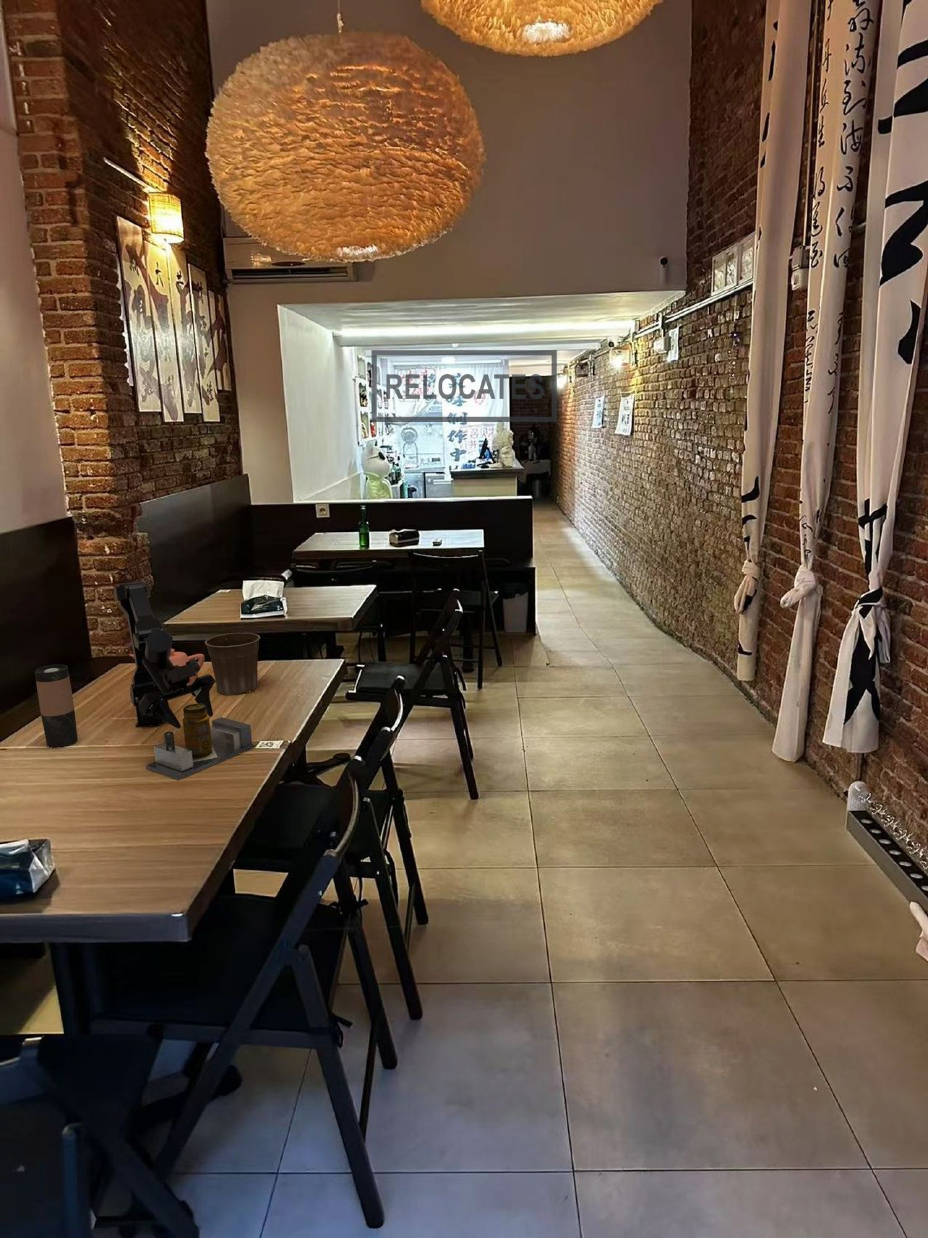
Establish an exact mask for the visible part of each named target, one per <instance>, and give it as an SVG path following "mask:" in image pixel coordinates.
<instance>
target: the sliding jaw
mask: <svg viewBox="0 0 928 1238" xmlns="http://www.w3.org/2000/svg"><path fill="white" fill-rule="evenodd" d="M163 737H164V742H163V743H159V744H157V745H154V746H153V750H154V751H153V752H154V758H155V759H154V761H156V763H159V764H162V765H165V766H168V767H171V768H174V769H177V770H180V771H184V770H187V769H189V768H192V767H193V759H192V751H191V750H188V749H186V747H185V748H184V747H182V746H179V745H176V743H175V737H174V731H170V730H169V731H166V732H164V733H163Z"/></svg>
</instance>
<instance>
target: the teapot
mask: <svg viewBox="0 0 928 1238" xmlns="http://www.w3.org/2000/svg"><path fill="white" fill-rule="evenodd" d="M128 655H129V656H130V657H131V658H133V659H134V653H133V654H132V653H130V654H128ZM169 659H170V660H171V662H172V663H173V665H174V666H176V665H178V666H179V667H180V666H183V665H186V662H188V661H189V660H193V659H197V660H198V661H197V663H198V664H199V666H200V670H201V669H202V667H203V666H204V663H205V659H206V658H205V655H204V654H203V653H196V654H192V655H189V656H188V655H187V653H185V652H183V651H175V648H171V653H170V658H169ZM199 672H200V671H198V672H196V676H192V677H190V678H189V679H190V682H189V683H187V684H186V685H187V686H189V685H192V684H193V682H194V681H195V679H196V678H197V677H199Z"/></svg>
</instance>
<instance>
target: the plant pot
mask: <svg viewBox="0 0 928 1238" xmlns="http://www.w3.org/2000/svg"><path fill="white" fill-rule="evenodd" d="M260 640H261V636H260V635H259V634H257V633H251V632H231V633H222V634H218V635H214V636H211V637H209V638H207V639H206V640H205V641H204V643H205V646H206V647H207V652H208V656H209V657H210V661H211V667H212V670H213V671H212V672H213V678H214V679H215V681H216V682H215V685H216V691H217V692H218V691H219V692H218V693H219V694H221V695H225V694H238V695H242V694H243V693H246V692H248V693H250V692H249V691H251V692H253V691H255V690H256V689H257V688H258V687H257V686H258V685H259V684H258V683H259V682H258V677H259V676H258V658H259V657H258V655H259V653H258V652H259V650H260V647H259V644H260V642H259V641H260ZM254 689H255V690H254ZM252 690H253V691H252ZM241 693H242V694H241Z"/></svg>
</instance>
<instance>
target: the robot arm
mask: <svg viewBox="0 0 928 1238" xmlns="http://www.w3.org/2000/svg"><path fill="white" fill-rule="evenodd" d="M113 595H114V600H115V602H117V604H118V608H119V610H120V611H121V612H122V613H123V614H124V615H125V616H126V618H127V619H126V620H127V623H128V629H129V635H130V636H129V637H130V641H131V642H130V643H131V647H132V653H133V655H134V658H133V659H134V662H135V663H134V664H135V670H134V673H133V675H132V678H131V684H130V690H129V691H130V692H129V696H130V701H131V704H132V705H133V707H135V712H136V718H137V723H136V724H134V725H135V728H136V727H137V728H138V727H139V728H141V727H143V728H144V727H159V726H161V725H162V724H163V723H167V724H168V725H170V726H172V727H174V728H175V729H177V730H179V729H181V727H182V725H181V723H180V721H179V720H178V718H177V717H176V715H175V714H174V712H173V710H172V709H171V707H170V705H169V701H171V700H174V699H178V698H180V697H183V696H186V695H189V694H190V695H191V696H192V697H195V698H194V701H195V703H196V704H204V705H206V710H207V715H208V716H209V718H212V717H213V716H214V711H213V708H212V703H211V702H212V701H211V697H210V691H211V690H212V688H213V686H214V685H215V684H216V681H215V677H214V675H211V674H208V673H207V674H204V675H201V676H198V677H197V678H196V679H195V681H194V682H193V684H192V685H189V686H187V685H186V684H187V683H189V682H190V679H189V678H190V677H192V676H196V672H198V671H199V672H200V671H201V669H200V666H199V664H198V661H197V660H196V658H194V659H191V660H189V661H188V662H186V665H183V666H180V667H179V666H178V665H176V666H174V665H173V663H172V662H171V660H170V659H169V658H170V653H171V649H172V644H173V640H174V639H173V635H172V634H171V633H170V632H168V630H167V629H166V628H165V629H164V626H163V623H162V621H161V620H160V619H157V618H155V616H154V614H153V610H152V607H151V604H150V601H149V598H150V597H151V592H150V585H149V583H147V582H146V583H145V582H143V581H132V582H124V583H117V586H116V587H114V588H113ZM199 672H198V673H199Z"/></svg>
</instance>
